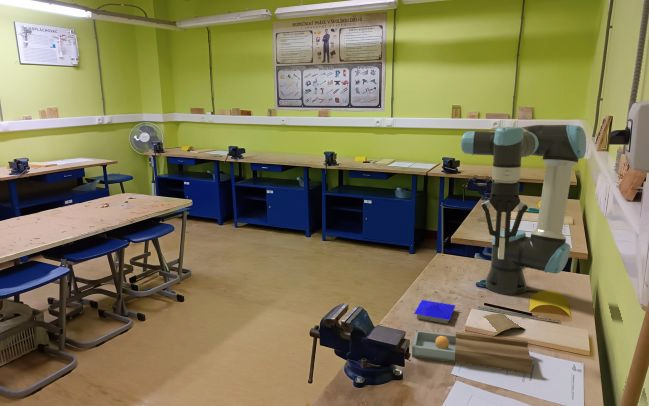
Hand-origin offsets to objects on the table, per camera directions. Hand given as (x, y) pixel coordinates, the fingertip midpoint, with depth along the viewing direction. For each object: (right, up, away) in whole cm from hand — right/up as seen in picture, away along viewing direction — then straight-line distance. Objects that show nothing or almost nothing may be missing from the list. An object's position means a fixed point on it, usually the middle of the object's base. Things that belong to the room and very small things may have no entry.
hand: (500, 257), depth 133 cm
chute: (-5, -28, -6) cm, 30 cm away
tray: (-20, -28, -1) cm, 35 cm away
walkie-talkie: (+29, -11, +72) cm, 78 cm away
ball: (-18, -25, -2) cm, 31 cm away
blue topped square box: (-15, -23, +22) cm, 35 cm away
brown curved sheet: (+5, -25, +13) cm, 28 cm away
